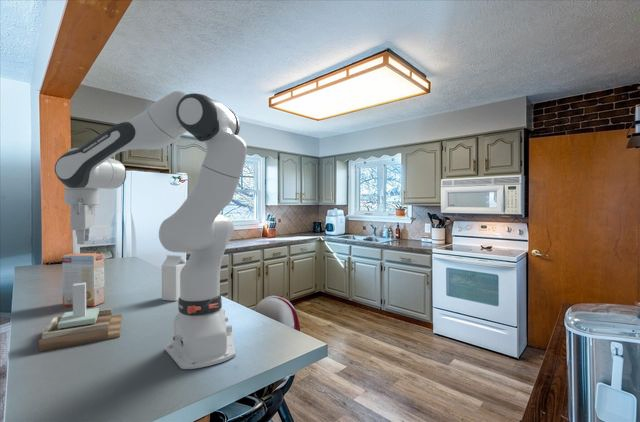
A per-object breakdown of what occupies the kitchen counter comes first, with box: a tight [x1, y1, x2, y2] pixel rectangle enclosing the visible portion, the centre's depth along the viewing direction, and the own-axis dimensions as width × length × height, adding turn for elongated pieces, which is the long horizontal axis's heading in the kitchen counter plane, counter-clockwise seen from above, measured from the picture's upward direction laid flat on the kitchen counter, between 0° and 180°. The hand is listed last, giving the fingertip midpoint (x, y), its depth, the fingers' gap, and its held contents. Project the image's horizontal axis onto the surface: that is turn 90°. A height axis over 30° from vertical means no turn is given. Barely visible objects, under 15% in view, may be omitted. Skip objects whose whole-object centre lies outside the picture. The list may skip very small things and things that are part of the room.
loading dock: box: [38, 308, 123, 353], centre depth 99 cm, size 18×19×4 cm
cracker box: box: [61, 252, 105, 307], centre depth 127 cm, size 14×6×21 cm, turn 84°
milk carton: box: [161, 254, 187, 302], centre depth 136 cm, size 7×7×19 cm
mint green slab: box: [58, 282, 100, 330], centre depth 98 cm, size 11×9×13 cm
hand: (83, 242), depth 98 cm, fingers open, 8 cm apart
